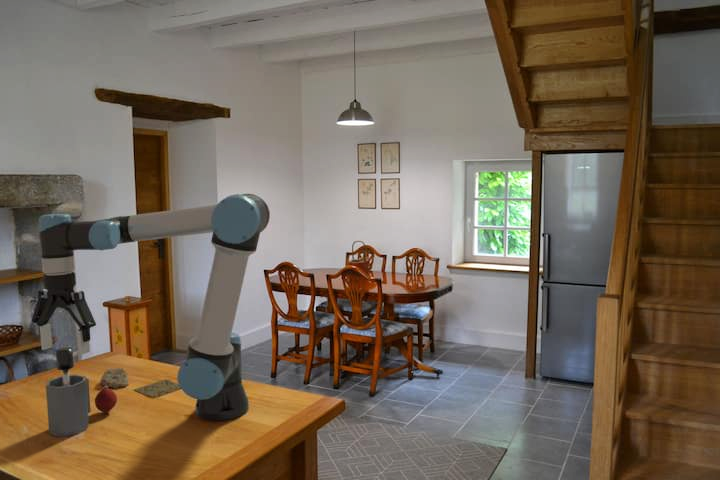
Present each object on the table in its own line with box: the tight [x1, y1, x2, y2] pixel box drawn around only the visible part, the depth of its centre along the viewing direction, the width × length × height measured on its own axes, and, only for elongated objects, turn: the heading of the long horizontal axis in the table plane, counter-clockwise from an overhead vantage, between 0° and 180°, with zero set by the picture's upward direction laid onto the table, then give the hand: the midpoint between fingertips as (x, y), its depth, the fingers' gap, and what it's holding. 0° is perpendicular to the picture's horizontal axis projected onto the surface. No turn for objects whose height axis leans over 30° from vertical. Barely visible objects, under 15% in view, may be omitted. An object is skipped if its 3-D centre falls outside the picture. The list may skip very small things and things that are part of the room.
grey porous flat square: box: [132, 379, 182, 400], centre depth 185 cm, size 12×12×1 cm
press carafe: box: [45, 374, 92, 438], centre depth 156 cm, size 9×11×14 cm
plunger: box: [55, 346, 75, 386], centre depth 154 cm, size 7×7×19 cm
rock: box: [100, 368, 130, 389], centre depth 189 cm, size 9×6×10 cm
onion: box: [94, 385, 118, 414], centre depth 165 cm, size 6×6×8 cm
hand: (65, 351), depth 153 cm, fingers open, 13 cm apart
